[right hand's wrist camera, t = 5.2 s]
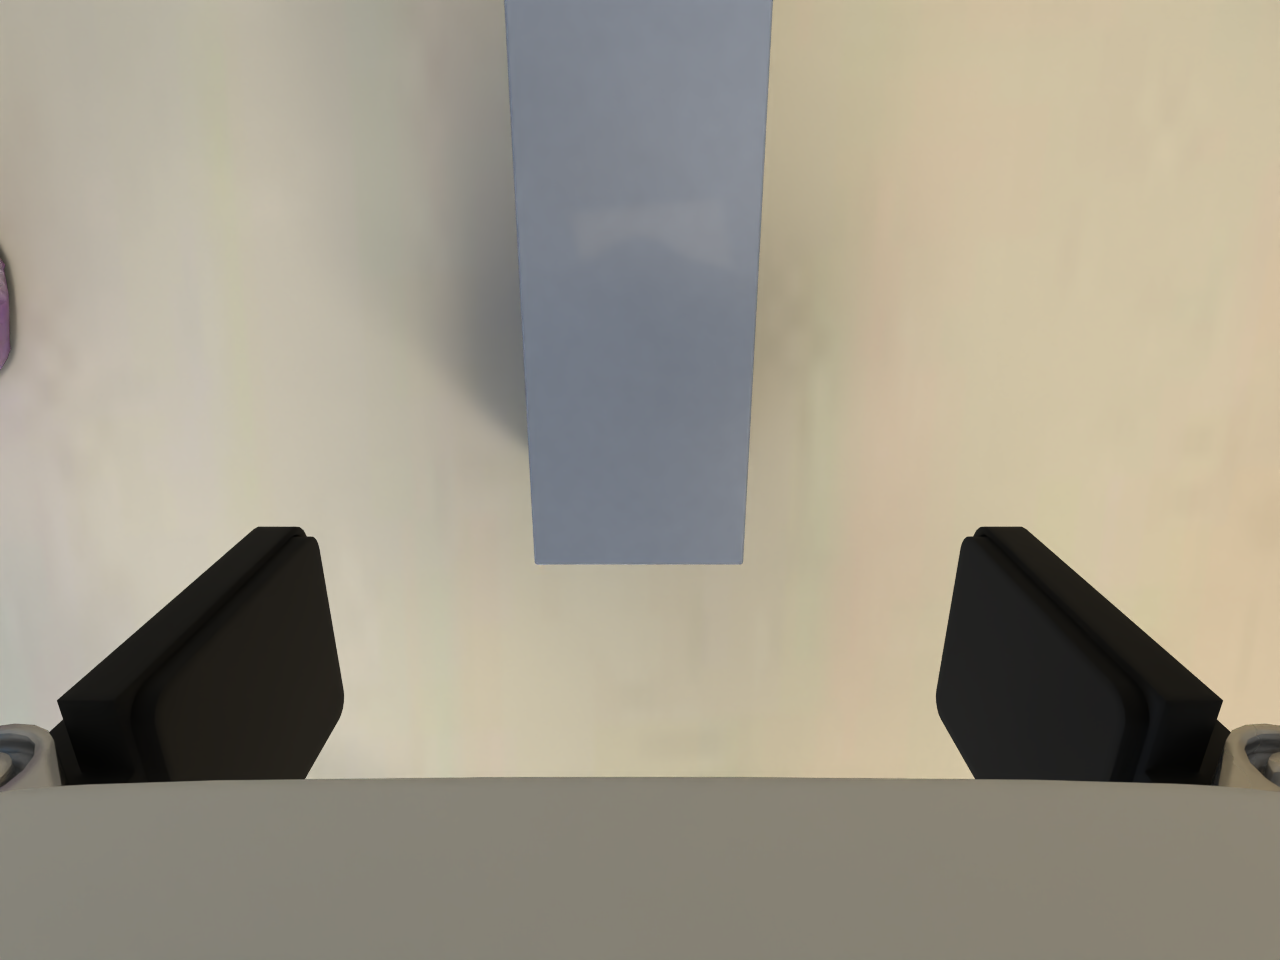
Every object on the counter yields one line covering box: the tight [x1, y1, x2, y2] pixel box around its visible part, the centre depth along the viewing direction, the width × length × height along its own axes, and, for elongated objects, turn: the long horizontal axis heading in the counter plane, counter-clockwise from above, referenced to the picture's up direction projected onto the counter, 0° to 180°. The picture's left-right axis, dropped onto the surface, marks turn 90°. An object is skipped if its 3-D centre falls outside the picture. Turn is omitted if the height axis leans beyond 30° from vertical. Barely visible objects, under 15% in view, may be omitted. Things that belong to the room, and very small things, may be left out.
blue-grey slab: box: [504, 0, 773, 564], centre depth 25 cm, size 16×7×8 cm, turn 0°
